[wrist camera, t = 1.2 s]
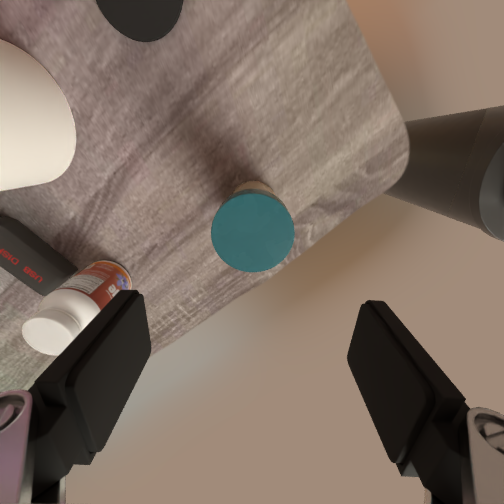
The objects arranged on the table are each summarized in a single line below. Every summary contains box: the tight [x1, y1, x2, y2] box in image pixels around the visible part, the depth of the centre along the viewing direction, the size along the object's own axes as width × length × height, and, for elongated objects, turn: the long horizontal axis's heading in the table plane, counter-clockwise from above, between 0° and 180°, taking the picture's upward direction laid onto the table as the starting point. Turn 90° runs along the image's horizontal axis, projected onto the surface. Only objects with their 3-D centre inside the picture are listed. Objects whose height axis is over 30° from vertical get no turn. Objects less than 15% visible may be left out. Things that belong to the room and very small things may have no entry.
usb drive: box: [0, 216, 78, 296], centre depth 30 cm, size 5×12×3 cm, turn 40°
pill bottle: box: [22, 260, 132, 355], centre depth 28 cm, size 6×6×11 cm
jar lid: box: [211, 189, 295, 272], centre depth 20 cm, size 7×7×2 cm
